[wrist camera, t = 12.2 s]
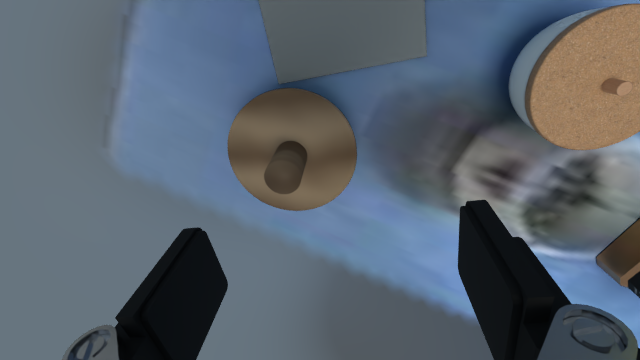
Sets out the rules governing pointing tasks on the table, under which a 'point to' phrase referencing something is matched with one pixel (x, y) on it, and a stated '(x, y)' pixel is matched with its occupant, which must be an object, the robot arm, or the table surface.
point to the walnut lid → (292, 149)
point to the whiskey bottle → (624, 259)
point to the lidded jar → (582, 79)
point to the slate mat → (341, 35)
